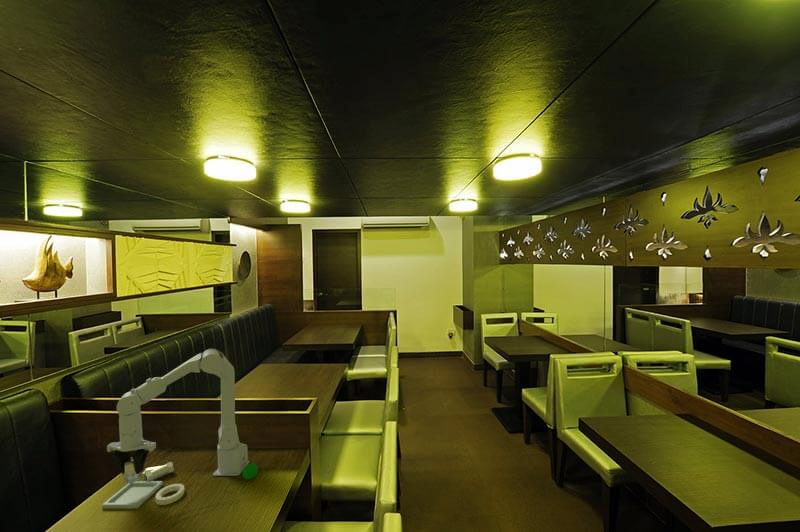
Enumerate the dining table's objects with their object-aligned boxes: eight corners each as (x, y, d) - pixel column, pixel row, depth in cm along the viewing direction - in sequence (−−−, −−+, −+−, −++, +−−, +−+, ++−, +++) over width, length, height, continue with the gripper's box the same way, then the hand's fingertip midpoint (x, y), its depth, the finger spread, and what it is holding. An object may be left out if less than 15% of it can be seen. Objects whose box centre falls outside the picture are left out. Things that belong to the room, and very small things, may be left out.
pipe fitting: (140, 480, 121) (147, 485, 117) (139, 469, 121) (146, 474, 117) (166, 468, 127) (174, 473, 123) (165, 457, 127) (173, 462, 124)
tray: (162, 485, 117) (162, 481, 117) (137, 508, 106) (137, 504, 106) (131, 485, 117) (130, 481, 117) (102, 509, 106) (102, 504, 106)
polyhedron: (243, 475, 121) (242, 462, 121) (258, 472, 123) (257, 459, 123) (242, 484, 117) (241, 470, 116) (257, 480, 118) (257, 467, 118)
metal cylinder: (143, 476, 113) (142, 457, 112) (130, 484, 109) (129, 464, 109) (135, 474, 114) (134, 455, 114) (122, 481, 110) (121, 461, 110)
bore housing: (189, 488, 115) (189, 483, 115) (173, 504, 107) (173, 499, 107) (167, 488, 115) (166, 483, 115) (150, 504, 108) (149, 499, 108)
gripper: (161, 424, 115) (163, 464, 115) (119, 424, 115) (120, 464, 116) (145, 435, 108) (147, 477, 108) (100, 435, 108) (102, 478, 109)
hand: (132, 472), depth 111 cm, fingers closed on metal cylinder, 4 cm apart
